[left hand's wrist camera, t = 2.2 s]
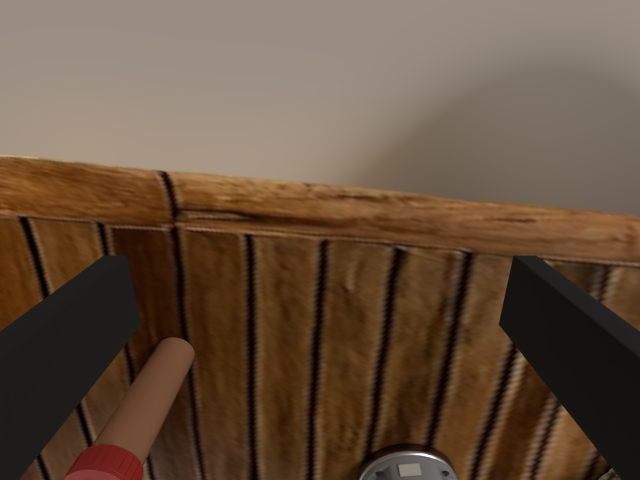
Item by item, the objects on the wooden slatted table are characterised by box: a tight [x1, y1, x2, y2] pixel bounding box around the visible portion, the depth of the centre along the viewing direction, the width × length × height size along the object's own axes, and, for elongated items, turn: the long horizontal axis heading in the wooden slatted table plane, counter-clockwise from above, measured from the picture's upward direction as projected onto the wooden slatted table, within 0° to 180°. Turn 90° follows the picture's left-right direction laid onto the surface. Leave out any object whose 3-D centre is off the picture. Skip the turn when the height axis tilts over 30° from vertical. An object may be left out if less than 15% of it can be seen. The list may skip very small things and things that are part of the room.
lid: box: [64, 444, 144, 480], centre depth 32 cm, size 6×6×2 cm
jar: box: [92, 337, 195, 466], centre depth 40 cm, size 5×5×18 cm
